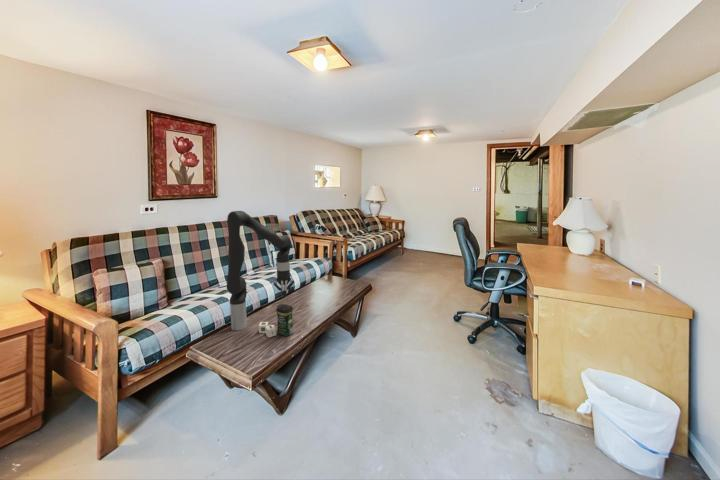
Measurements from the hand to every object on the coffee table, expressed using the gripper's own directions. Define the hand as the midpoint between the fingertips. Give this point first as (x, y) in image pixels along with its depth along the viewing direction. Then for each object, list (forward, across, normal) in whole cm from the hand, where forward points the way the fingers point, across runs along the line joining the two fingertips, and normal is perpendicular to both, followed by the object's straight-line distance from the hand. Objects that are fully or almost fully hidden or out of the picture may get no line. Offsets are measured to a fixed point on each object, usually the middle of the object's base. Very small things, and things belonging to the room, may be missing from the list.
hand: (284, 296), depth 177 cm
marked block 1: (+24, -12, +8) cm, 28 cm away
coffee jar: (+24, 0, 0) cm, 24 cm away
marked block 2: (+24, -8, +2) cm, 26 cm away
